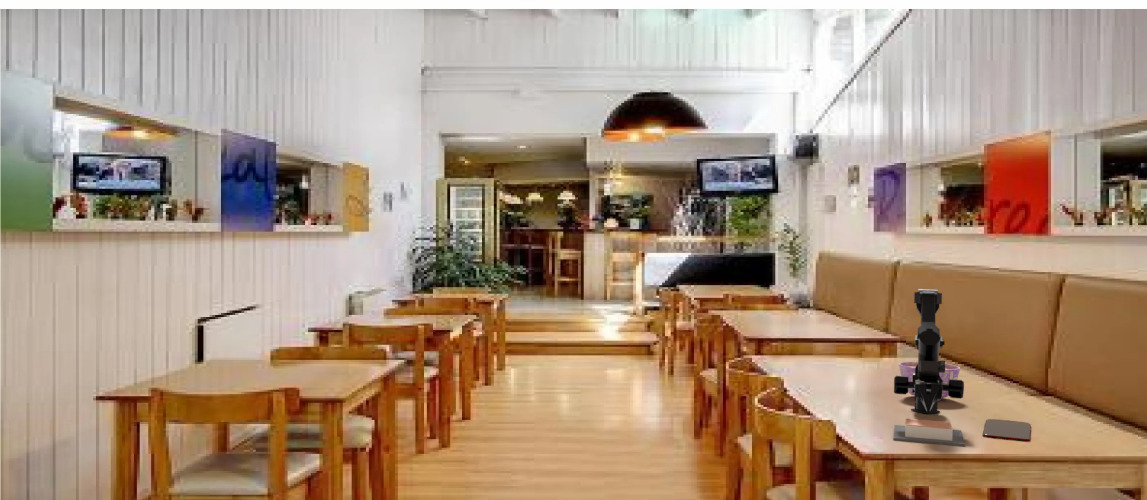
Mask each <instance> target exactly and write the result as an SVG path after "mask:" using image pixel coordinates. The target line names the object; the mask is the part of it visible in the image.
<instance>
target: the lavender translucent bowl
mask: <svg viewBox="0 0 1147 500" xmlns="http://www.w3.org/2000/svg"><path fill="white" fill-rule="evenodd" d="M917 365H918V361H905V362H904V361H903V362H899V363H898V368H899V372H900V376H909V378H908V381H909V382H912V377H913V374H915V368H916V366H917ZM960 371H961V367H960V366H958V365H954V364H950V363H945V373H940V375H941V379H942V380H943V383H948V384H949V379H957V380H959V379H958V378H959V374H960ZM908 394H910V395H911V396H914V397H915V392H914V393H912V389H908ZM947 397H949V396H948V391H942V398H941V399H938V401H941V400H942V399H943V398H947Z"/></svg>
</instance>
